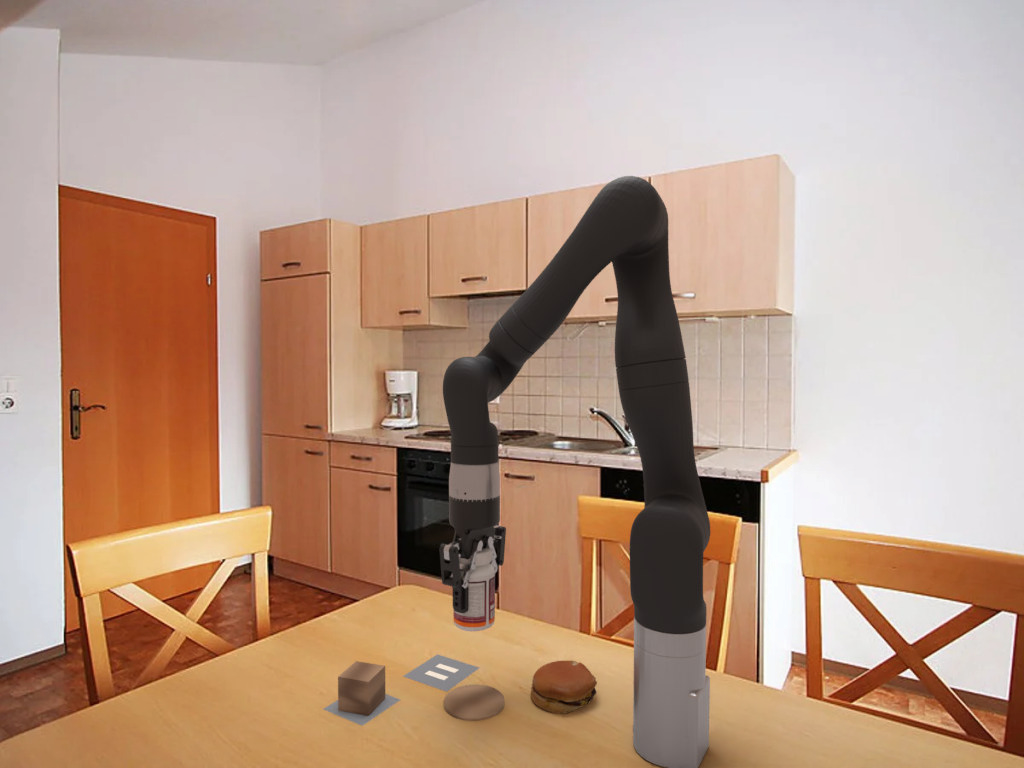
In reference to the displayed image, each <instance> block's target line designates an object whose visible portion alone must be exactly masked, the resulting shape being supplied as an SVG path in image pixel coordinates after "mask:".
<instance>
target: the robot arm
mask: <svg viewBox="0 0 1024 768" xmlns="http://www.w3.org/2000/svg"><path fill="white" fill-rule="evenodd" d="M611 263H612V268H613V273H614V274H613V275H614V278H615V283H616V292H617V312H616V320H615V321H616V322H615V334H614V363H615V364H614V365H615V371H616V372H615V373H616V381H617V387H618V388H617V389H618V394H619V400H620V405H621V407H622V410H623V414H624V418H625V420H626V423H627V426H628V429H629V430H630V433H631V436H632V438H633V441H634V443H635V446H636V448H637V450H638V455H639V458H640V462H641V469H642V476H643V477H642V478H643V497H644V504H643V505H644V508H643V509H642V510H641V511H640V512H639V513H638V514H637V515H636V516H635V518H634V520H633V522H632V525H631V528H630V533H629V534H630V535H629V584H630V585H629V590H630V597H631V601H632V604H633V609H634V610H633V612H634V613H633V615H634V616H633V695H632V696H633V698H632V700H633V702H632V704H633V705H632V707H633V708H632V709H633V710H632V711H633V715H632V719H633V721H632V744H633V748H634V750H635V751H636V753H637V754H638V755H639V756H640V757H641V758H643V759H644V760H646V761H647V762H650V763H652V764H653V765H657V766H660V767H663V768H699V767H700V764H701V763H702V761H703V759H704V757H705V755H706V753H707V751H708V748H709V746H710V702H711V701H710V699H711V698H710V697H711V695H710V694H711V693H710V692H711V686H710V685H711V677H710V676H709V675H707V674H706V671H707V669H706V667H707V666H706V665H707V664H706V658H707V656H706V655H707V653H706V652H707V603H706V602H705V598H704V554H705V553H704V552H705V550H706V548H707V547H708V544H709V542H710V540H711V539H710V538H711V523H710V522H711V521H710V518H709V517H710V516H709V513H708V509H707V506H706V501H705V498H704V494H703V490H702V486H701V481H700V477H699V472H698V468H697V463H696V457H695V448H694V428H693V414H692V412H693V411H692V410H693V409H692V401H691V390H690V389H691V388H690V379H689V372H688V365H687V359H686V358H687V357H686V352H685V346H684V341H683V335H682V331H681V325H680V320H679V316H678V313H677V308H676V307H677V306H676V303H675V300H674V297H673V292H672V291H673V290H672V286H671V277H670V255H669V214H668V209H667V207H666V204H665V202H664V201H663V198H662V197H661V195H660V194H659V192H658V191H657V189H656V187H654V185H653V184H651V182H649V181H647V180H646V179H644V178H642V177H640V176H635V175H625V176H620V177H617V178H615V179H613V180H611V181H610V182H608V183H607V184H605V185H604V186H603V187H602V189H601V190H600V191H599V192H598V193H597V195H596V196H595V197H594V199H593V200H592V202H591V203H590V204H589V206H588V207H587V209H586V211H585V213H584V214H583V215H582V216H581V218H580V220H579V221H578V223H577V225H576V226H575V227H574V228H573V230H572V232H571V233H570V235H569V236H568V237H567V239H566V240H565V241H564V242H563V245H562V246H561V247H560V248H559V250H558V251H557V253H556V254H555V255H554V256H553V258H552V259H551V260H550V261H549V263H548V264H547V265H546V267H545V268H544V269H543V270H542V271H541V272H540V274H539V275H538V276H537V277H536V278H535V280H534V281H533V282H532V283H531V284H529V285H530V286H528V287H527V288H526V290H525V291H524V292H523V293H522V294H520V296H519V297H518V298H517V299H516V301H514V303H512V305H511V306H510V307H509V308H508V309H507V310H505V313H503V314H502V315H501V316H500V318H499V319H497V321H496V322H495V323H494V324H493V326H492V327H491V329H490V330H489V334H488V338H489V341H488V342H487V343H486V344H485V346H484V347H483V348H482V349H481V351H479V353H478V354H477V355H475V356H462V357H458V358H456V359H454V360H453V361H452V362H451V363H449V365H448V366H447V368H446V369H445V372H444V376H443V380H442V397H443V403H444V408H445V412H446V418H447V422H448V425H449V430H450V436H451V437H450V467H449V474H448V475H449V476H448V521H449V524H450V525H451V526H452V527H453V529H454V536H453V539H452V542H450V543H449V544H446V543H445V544H444V543H442V544H440V546H439V561H440V571H441V572H440V573H441V584H442V585H445V586H448V587H449V586H450V587H452V608H453V609H452V610H454V611H456V612H459V613H463V614H464V613H466V612H467V611H468V587H467V586H468V583H469V579H470V575H471V573H472V572H474V571H475V568H476V558H475V557H476V554H478V553H480V552H481V550H482V549H484V548H488V549H489V548H491V557H492V560H491V562H490V564H491V565H492V566H493V567H494V570H495V574H496V573H497V572H498V567H499V566H500V567H501V566H503V565H504V561H505V551H506V535H507V527H506V526H502V525H499V524H500V522H501V474H500V466H499V432H498V431H499V430H498V427H497V426H496V424H494V423H493V422H491V420H490V413H489V403H491V402H493V401H495V400H496V399H497V398H499V397H500V396H502V394H503V393H504V392H505V391H506V390H507V389H508V388H509V387H510V385H511V384H512V382H513V381H514V380H515V378H516V377H517V375H518V374H519V373H520V372H521V370H522V369H523V367H524V365H525V363H526V362H527V361H528V360H529V359H530V358H531V357H532V356H533V355H534V354H536V352H538V350H540V348H541V347H542V346H543V345H544V344H546V342H547V341H548V340H549V339H550V338H551V337H552V336H553V335H554V334H555V332H557V331H558V329H559V328H560V327H561V325H562V324H563V323H564V321H566V319H567V317H568V315H569V314H570V313H571V311H572V310H573V308H574V307H575V305H576V304H577V302H578V300H579V299H580V297H581V295H582V294H583V293H584V292H585V290H586V289H587V288H588V287H589V285H590V284H591V283H592V282H593V280H595V278H596V277H597V276H598V275H599V274H600V273H601V272H602V271H603V270H604V269H605V268H606V267H607V266H608V265H610V264H611ZM496 550H497V553H496ZM459 557H460V558H464V559H470V561H469V563H468V564H467V565H464V564H459ZM460 570H464V573H463V577H462V579H461V577H460ZM450 573H451V575H450ZM454 611H453V612H454Z"/></svg>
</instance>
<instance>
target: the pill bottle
mask: <svg viewBox="0 0 1024 768" xmlns="http://www.w3.org/2000/svg"><path fill="white" fill-rule="evenodd" d="M475 558H476V568H475V571H474V572H472V573H471V575H470V579H469V583H468V586H467V587H468V611H467V612H466V613H464V614H463V613H459V612H456V611H454V609H452V610H453V624H454V626H455V627H456V628H457V629H459V630H462V631H465V632H480V631H485V630H488V629H490V628H491V627H493V625H494V624H495V620H496V617H495V616H496V582H495V581H496V573H495V570H494V567H493V566H492V565H491V564H490V562H491V560H492V557H491V548H489V549H488V548H484V549H482V550H481V552H480V553H478V554H476V557H475ZM469 561H470V559H464V558H460V557H459V564H464V565H467V564H468V563H469ZM463 573H464V570H460V577H461V579H462V577H463Z"/></svg>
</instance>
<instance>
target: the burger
mask: <svg viewBox="0 0 1024 768" xmlns="http://www.w3.org/2000/svg"><path fill="white" fill-rule="evenodd" d="M597 684H598V680H597V679H596V677H595V676H594V675H593V673H592V672H591V671H590V670H589V669H588V668H587V666H586V665H585V664H584V663H582V662H578V661H577V660H556V661H552V662H548V663H546V664H544V665H542V666H540V667H538V669H537V670H536V671H535V673H534V674H533V676H532V683H531V688H530V689H531V691H530V699H532V700H531V701H532V702H533V703H534V704H535V705H536V706H537V707H539V708H540V709H542V710H544V711H548V712H550V713H552V714H567V713H570V712H573V711H575V710H577V709H581V708H582V707H585V706H587V705H588V704H589V703H590V702H591V701H592V700H593V699H594V696H595V695H596V694H597V690H596V687H597Z"/></svg>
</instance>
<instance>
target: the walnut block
mask: <svg viewBox="0 0 1024 768" xmlns="http://www.w3.org/2000/svg"><path fill="white" fill-rule="evenodd" d="M385 694H386V665H382V664H378V663H377V664H376V663H370V662H365V661H364V662H363V661H357V660H356V661H354V662H353V663H352V664H351V665H349V666H348V667H347V668H346V669H345V670H344V671H343V672H341V673H340V674H339V675H338V676H337V698H338V699H337V700H338V710H340V711H345V712H350V713H356V714H361V715H367V716H369V715H370V714H371V713H372V712H373V711H374V710H375V709H376V708H377V707H378V706H379V704H380V703H381V702H382V701H383V700H384V699H385Z"/></svg>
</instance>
